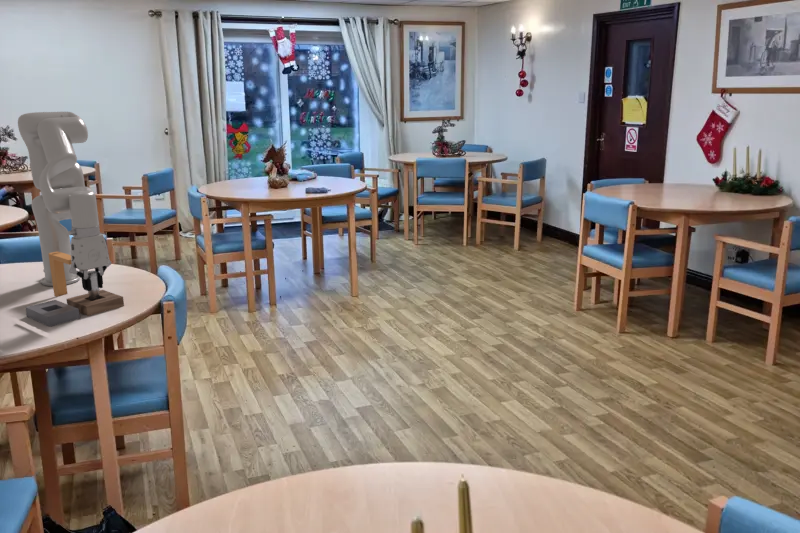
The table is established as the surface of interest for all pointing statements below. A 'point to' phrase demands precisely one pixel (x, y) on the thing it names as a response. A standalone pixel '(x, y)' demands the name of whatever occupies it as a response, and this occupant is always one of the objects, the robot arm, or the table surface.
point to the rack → (52, 313)
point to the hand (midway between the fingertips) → (93, 288)
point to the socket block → (96, 303)
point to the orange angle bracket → (59, 272)
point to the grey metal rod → (93, 286)
